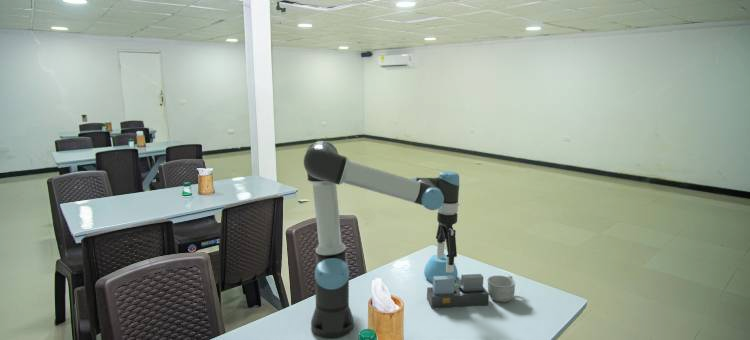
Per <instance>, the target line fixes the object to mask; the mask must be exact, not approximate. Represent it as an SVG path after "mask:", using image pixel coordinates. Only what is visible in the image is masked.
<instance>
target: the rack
mask: <svg viewBox="0 0 750 340" xmlns="http://www.w3.org/2000/svg"><path fill="white" fill-rule="evenodd" d="M460 280H461V281H460V285H456V286H454V294H437V295H433V293H432V288H433V286H432V287H431V286H429V287H427V288H426V291H427V292H426V300H427V302H428V305H429V306H430V308H431V309H446V308H447V309H448V308H467V307H483V306H489V299H490V295H489V293H488V290H487V289H486V288H485V287H484V276H483V275H482V274H481V273H471V274H469V273H468V274H461V279H460Z"/></svg>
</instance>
